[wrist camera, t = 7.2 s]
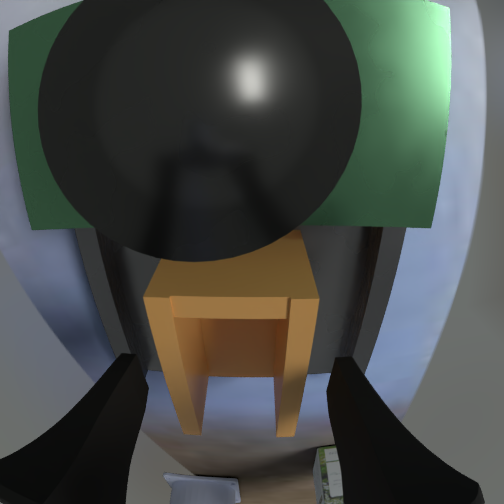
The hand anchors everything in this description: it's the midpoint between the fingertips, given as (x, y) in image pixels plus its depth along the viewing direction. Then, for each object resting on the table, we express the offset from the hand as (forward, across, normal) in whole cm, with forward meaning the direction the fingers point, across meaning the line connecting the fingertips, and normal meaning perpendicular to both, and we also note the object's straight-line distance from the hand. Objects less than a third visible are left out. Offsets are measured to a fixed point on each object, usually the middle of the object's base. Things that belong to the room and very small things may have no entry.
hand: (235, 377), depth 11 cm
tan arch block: (+4, 0, 0) cm, 4 cm away
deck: (+5, 0, -4) cm, 6 cm away
